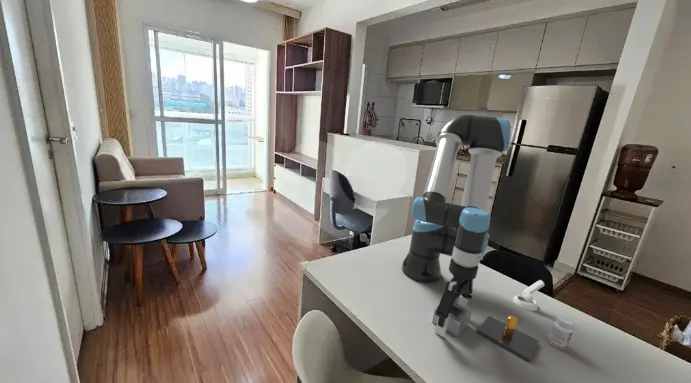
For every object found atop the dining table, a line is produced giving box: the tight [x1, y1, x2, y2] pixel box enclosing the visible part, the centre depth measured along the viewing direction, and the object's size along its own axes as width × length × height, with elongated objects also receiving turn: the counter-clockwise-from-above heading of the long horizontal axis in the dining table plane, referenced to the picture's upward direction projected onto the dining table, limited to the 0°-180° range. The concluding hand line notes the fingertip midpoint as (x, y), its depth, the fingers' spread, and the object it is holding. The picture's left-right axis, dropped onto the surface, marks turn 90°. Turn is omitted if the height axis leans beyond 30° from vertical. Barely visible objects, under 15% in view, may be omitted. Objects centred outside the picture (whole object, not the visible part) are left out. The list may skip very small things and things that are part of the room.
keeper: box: [476, 314, 540, 363], centre depth 86 cm, size 14×10×7 cm
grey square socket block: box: [431, 302, 472, 338], centre depth 89 cm, size 8×8×5 cm
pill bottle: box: [547, 314, 575, 350], centre depth 85 cm, size 5×5×8 cm
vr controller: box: [512, 279, 545, 312], centre depth 104 cm, size 8×12×7 cm
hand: (450, 324), depth 90 cm, fingers open, 13 cm apart
